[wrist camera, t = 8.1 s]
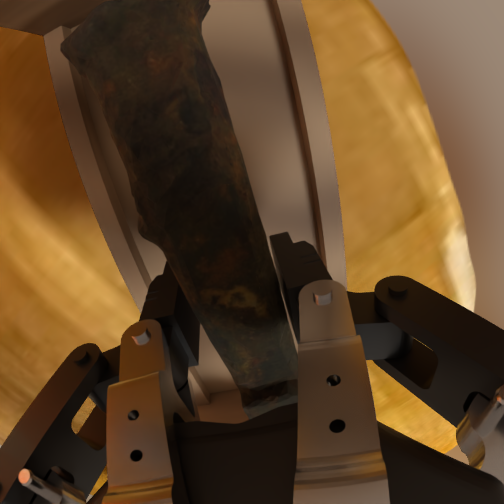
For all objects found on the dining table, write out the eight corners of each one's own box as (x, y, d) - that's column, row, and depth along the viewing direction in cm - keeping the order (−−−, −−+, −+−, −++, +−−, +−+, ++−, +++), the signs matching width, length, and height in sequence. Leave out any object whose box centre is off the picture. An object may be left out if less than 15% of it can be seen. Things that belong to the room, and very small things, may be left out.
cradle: (341, 375, 23) (377, 470, 15) (209, 405, 23) (212, 504, 15) (265, -67, 9) (311, -173, 1) (55, -3, 9) (-56, -45, 1)
